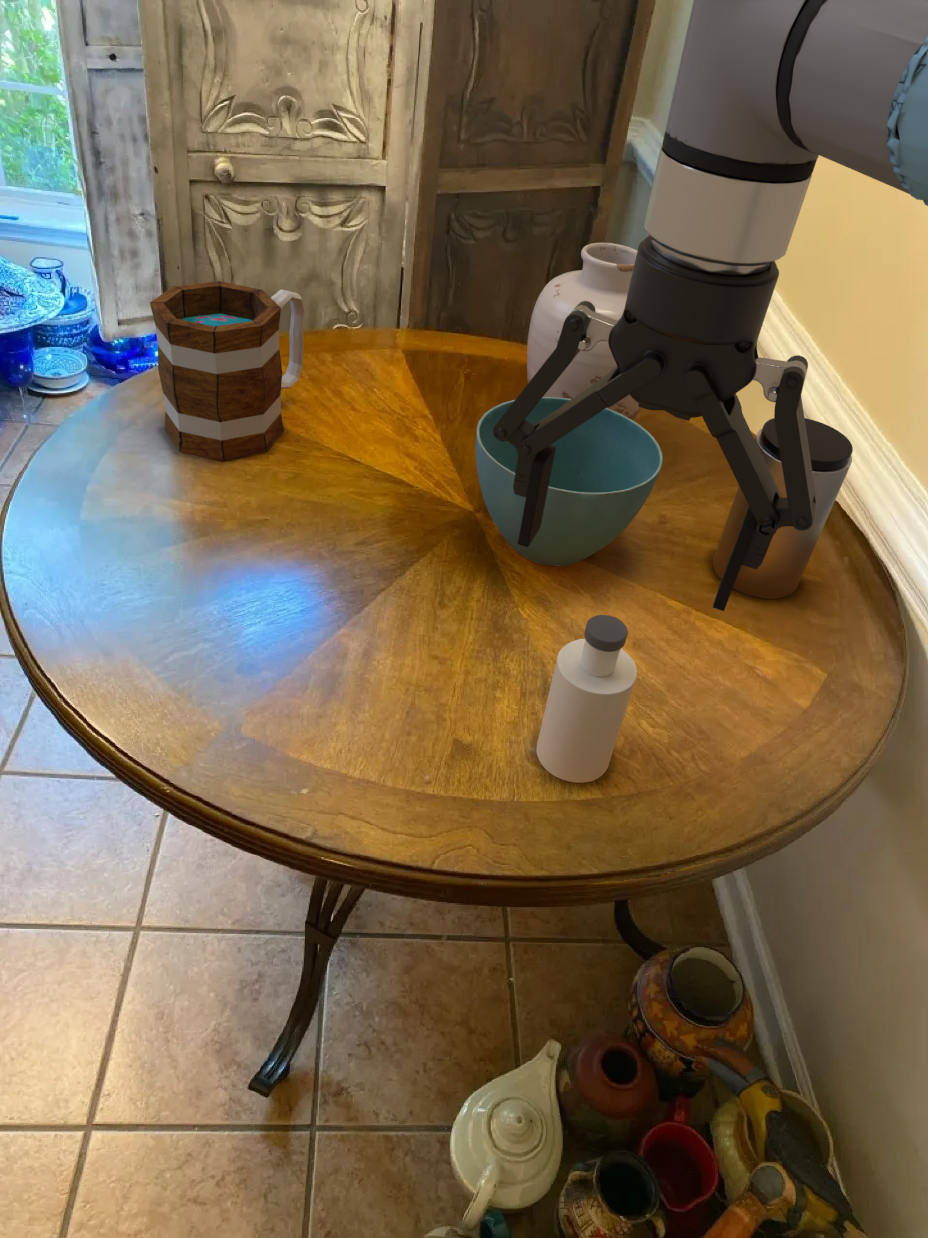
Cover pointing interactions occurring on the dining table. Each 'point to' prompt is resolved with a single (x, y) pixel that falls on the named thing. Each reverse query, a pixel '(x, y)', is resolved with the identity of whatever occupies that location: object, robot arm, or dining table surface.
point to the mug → (225, 366)
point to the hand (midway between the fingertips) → (622, 566)
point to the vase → (594, 283)
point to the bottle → (587, 702)
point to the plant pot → (571, 482)
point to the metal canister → (787, 543)
